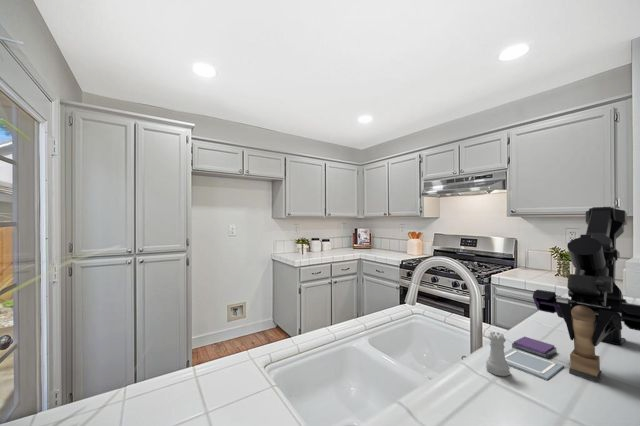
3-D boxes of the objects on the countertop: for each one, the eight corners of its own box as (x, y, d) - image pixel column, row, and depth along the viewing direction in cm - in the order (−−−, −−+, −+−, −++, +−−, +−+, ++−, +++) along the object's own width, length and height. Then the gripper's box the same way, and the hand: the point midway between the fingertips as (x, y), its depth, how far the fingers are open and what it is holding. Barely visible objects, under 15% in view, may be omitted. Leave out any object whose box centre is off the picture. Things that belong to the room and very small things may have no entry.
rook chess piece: (514, 378, 56) (513, 339, 56) (490, 375, 57) (489, 337, 57) (504, 367, 60) (503, 331, 60) (482, 365, 61) (481, 329, 61)
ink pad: (523, 342, 73) (523, 335, 73) (556, 352, 67) (556, 345, 68) (512, 348, 70) (511, 341, 70) (545, 359, 64) (545, 352, 64)
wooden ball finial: (573, 366, 61) (571, 301, 61) (601, 375, 57) (598, 306, 58) (569, 373, 58) (566, 305, 59) (598, 382, 54) (595, 310, 55)
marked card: (513, 349, 69) (513, 347, 69) (564, 366, 60) (564, 364, 60) (494, 359, 64) (494, 357, 64) (546, 380, 55) (546, 377, 55)
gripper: (533, 257, 68) (520, 308, 61) (649, 266, 54) (649, 335, 46) (543, 284, 73) (532, 335, 66) (652, 299, 58) (653, 368, 51)
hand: (582, 342), depth 57 cm, fingers closed on wooden ball finial, 3 cm apart
